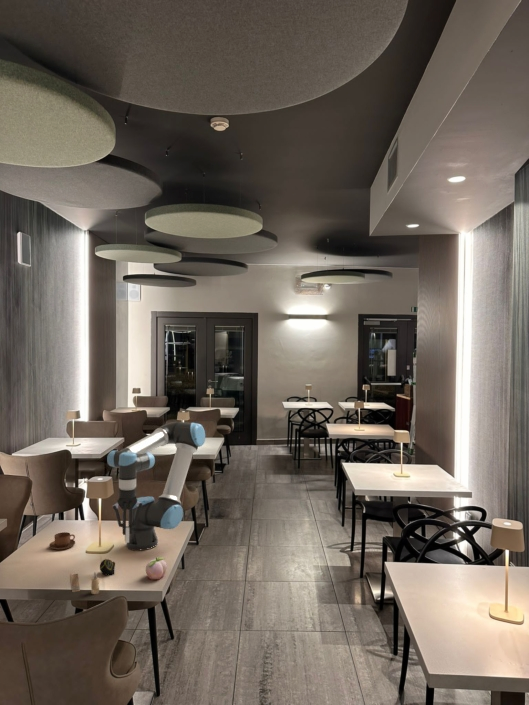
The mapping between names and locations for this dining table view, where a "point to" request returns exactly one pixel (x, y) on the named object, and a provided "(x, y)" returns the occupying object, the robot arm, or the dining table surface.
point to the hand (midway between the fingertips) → (127, 541)
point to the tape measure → (107, 567)
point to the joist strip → (75, 582)
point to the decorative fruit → (156, 568)
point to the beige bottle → (95, 584)
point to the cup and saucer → (62, 541)
